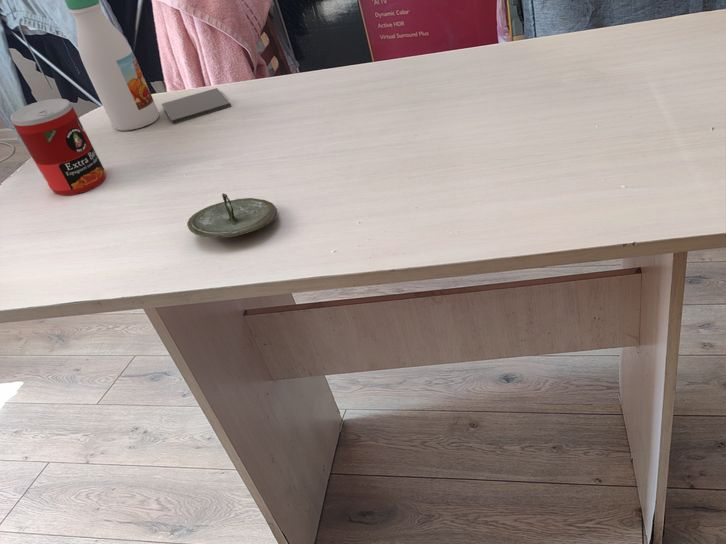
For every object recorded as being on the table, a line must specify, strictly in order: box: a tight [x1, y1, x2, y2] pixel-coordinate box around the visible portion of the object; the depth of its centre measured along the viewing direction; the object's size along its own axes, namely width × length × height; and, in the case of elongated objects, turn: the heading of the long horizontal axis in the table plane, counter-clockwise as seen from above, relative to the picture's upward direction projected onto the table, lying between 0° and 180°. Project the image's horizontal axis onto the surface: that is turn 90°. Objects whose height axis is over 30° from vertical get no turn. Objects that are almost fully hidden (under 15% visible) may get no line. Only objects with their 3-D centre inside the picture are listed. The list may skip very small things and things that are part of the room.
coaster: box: [161, 87, 232, 125], centre depth 117 cm, size 10×10×1 cm
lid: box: [186, 193, 278, 239], centre depth 81 cm, size 11×10×5 cm
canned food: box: [9, 98, 106, 196], centre depth 94 cm, size 8×8×11 cm
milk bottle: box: [64, 0, 160, 131], centre depth 108 cm, size 8×8×20 cm
